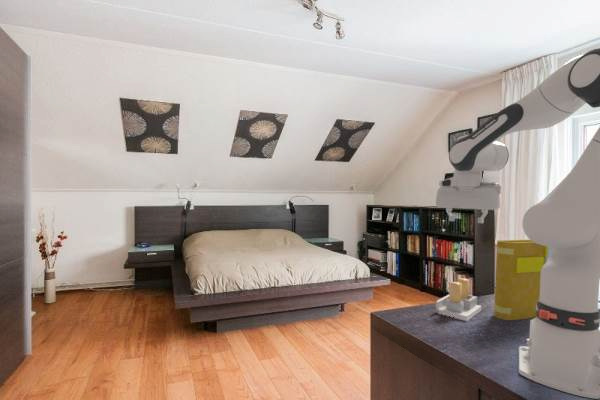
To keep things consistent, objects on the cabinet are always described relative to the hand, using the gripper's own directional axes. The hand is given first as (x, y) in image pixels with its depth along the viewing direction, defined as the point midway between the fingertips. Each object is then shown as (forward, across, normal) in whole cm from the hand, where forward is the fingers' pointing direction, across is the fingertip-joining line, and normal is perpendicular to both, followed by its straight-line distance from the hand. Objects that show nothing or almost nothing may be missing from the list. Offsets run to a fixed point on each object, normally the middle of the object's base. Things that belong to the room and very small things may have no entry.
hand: (465, 222), depth 121 cm
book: (+31, -15, -8) cm, 35 cm away
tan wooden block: (+29, 0, 0) cm, 29 cm away
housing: (+30, 0, +4) cm, 31 cm away
